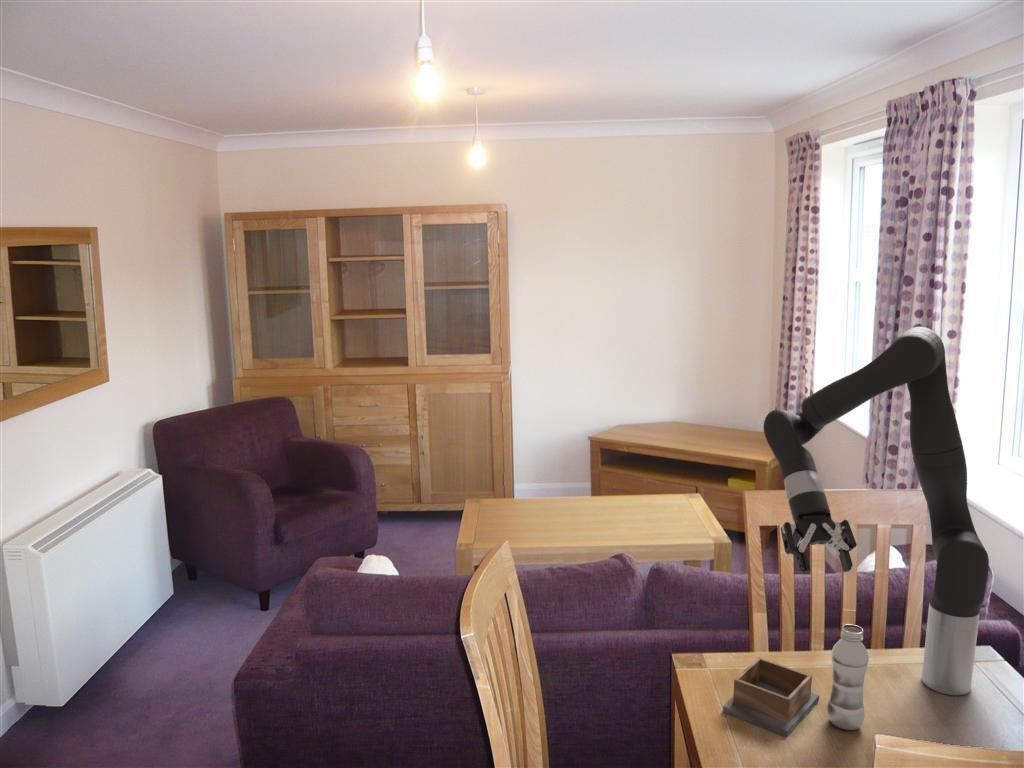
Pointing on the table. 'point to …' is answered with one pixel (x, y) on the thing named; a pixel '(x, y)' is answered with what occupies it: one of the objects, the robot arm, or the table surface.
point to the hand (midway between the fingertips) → (827, 571)
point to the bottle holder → (772, 696)
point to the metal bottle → (848, 679)
